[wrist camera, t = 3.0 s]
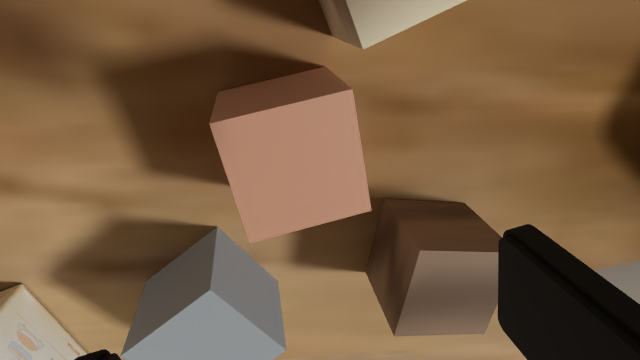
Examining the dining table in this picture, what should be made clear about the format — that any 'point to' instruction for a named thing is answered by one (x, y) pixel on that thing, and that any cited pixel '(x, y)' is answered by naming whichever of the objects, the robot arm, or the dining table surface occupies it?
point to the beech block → (378, 17)
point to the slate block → (208, 308)
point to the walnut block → (434, 268)
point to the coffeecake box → (32, 330)
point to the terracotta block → (291, 152)
